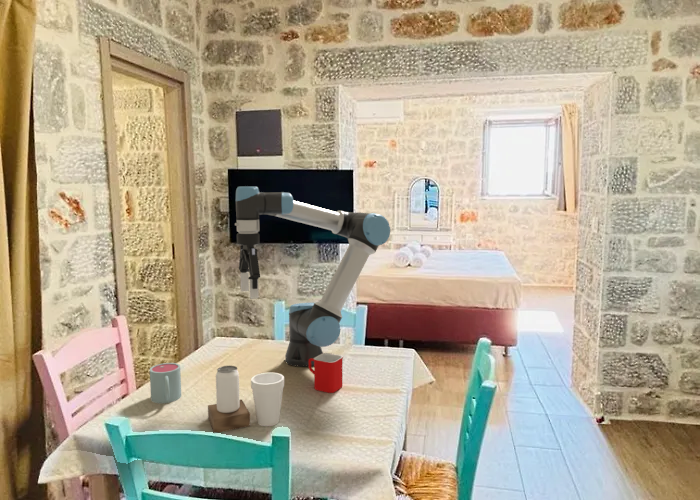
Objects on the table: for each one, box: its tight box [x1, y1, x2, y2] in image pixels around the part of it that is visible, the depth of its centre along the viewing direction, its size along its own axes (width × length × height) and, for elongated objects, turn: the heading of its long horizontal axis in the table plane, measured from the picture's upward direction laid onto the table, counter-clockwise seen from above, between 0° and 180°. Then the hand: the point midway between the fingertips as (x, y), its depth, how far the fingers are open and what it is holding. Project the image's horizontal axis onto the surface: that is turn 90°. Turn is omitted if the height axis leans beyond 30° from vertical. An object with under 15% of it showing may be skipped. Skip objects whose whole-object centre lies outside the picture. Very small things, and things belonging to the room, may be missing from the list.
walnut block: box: [207, 399, 251, 433], centre depth 142 cm, size 10×10×4 cm
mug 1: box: [149, 362, 182, 404], centre depth 157 cm, size 14×9×10 cm
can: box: [215, 365, 241, 413], centre depth 141 cm, size 6×6×12 cm
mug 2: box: [308, 352, 344, 394], centre depth 168 cm, size 12×8×11 cm
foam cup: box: [250, 371, 285, 427], centre depth 142 cm, size 10×9×13 cm
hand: (249, 294), depth 168 cm, fingers open, 13 cm apart
